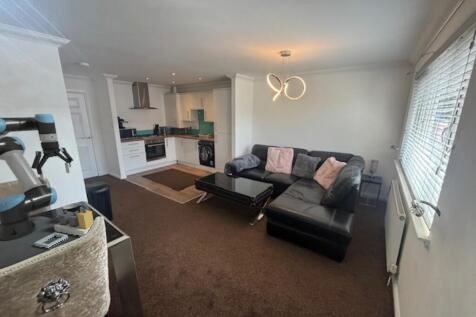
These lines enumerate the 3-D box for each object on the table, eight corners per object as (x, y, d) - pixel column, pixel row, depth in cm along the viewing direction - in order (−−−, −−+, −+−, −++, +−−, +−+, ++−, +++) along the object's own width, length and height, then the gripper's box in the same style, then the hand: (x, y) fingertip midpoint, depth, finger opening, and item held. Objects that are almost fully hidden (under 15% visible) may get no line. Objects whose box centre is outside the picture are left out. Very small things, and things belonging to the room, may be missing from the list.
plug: (80, 231, 119) (76, 210, 116) (88, 227, 124) (84, 207, 121) (86, 233, 118) (83, 211, 115) (94, 228, 123) (91, 208, 120)
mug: (66, 224, 129) (63, 210, 127) (63, 219, 135) (61, 206, 132) (88, 217, 138) (86, 204, 136) (85, 213, 144) (82, 200, 141)
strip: (55, 231, 121) (51, 213, 119) (72, 222, 131) (68, 206, 128) (84, 237, 116) (81, 219, 113) (100, 228, 125) (97, 211, 122)
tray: (35, 245, 108) (34, 242, 107) (55, 235, 117) (54, 232, 117) (48, 248, 105) (47, 245, 105) (68, 237, 115) (67, 234, 114)
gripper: (26, 144, 100) (35, 183, 105) (76, 138, 124) (82, 170, 129) (16, 143, 102) (25, 182, 107) (67, 138, 126) (73, 170, 130)
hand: (56, 176), depth 118 cm, fingers open, 13 cm apart
